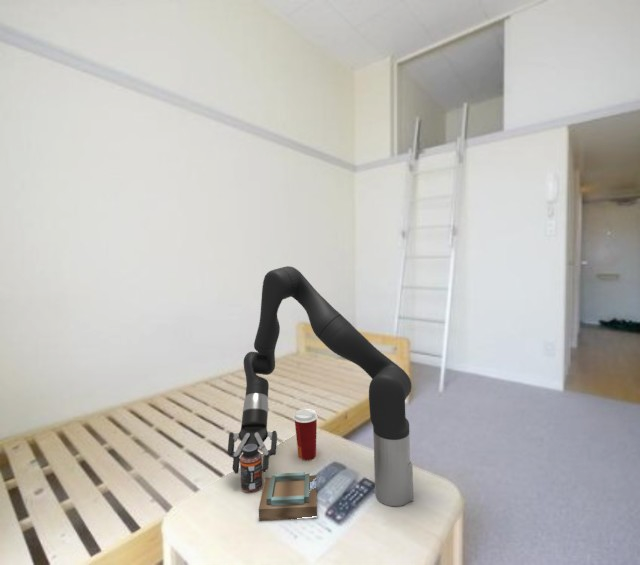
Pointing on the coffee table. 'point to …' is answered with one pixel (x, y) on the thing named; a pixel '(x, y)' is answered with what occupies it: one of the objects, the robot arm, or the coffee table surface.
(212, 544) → the coffee table surface
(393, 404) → the robot arm
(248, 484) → the supplement bottle
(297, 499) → the walnut foundation
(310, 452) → the paper cup
